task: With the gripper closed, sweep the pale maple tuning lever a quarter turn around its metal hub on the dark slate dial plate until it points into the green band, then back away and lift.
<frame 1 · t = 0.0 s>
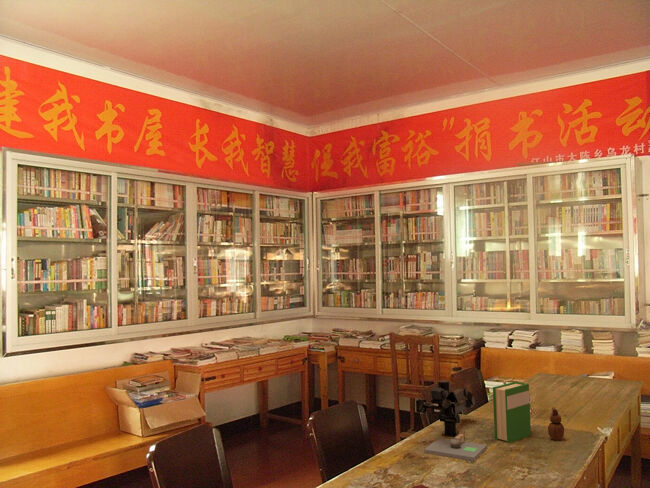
hand: (429, 412, 247), 17 cm above the table, tool horizontal, fingers open, 9 cm apart
tuning lever: (458, 439, 248), point 4 cm above the table, hinge at 0.0°
hardback book: (513, 437, 260), on the table
dial plate: (455, 450, 244), on the table
wooden figurine: (556, 439, 256), on the table
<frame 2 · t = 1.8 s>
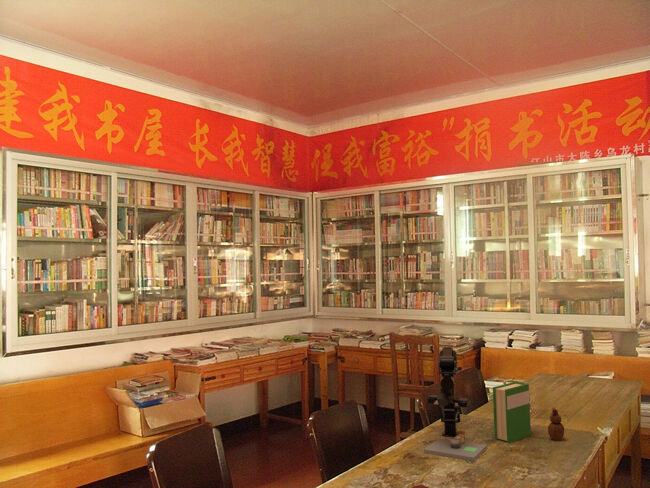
hand: (449, 420, 253), 11 cm above the table, tool pointing down, fingers open, 5 cm apart
nothing on the table moved.
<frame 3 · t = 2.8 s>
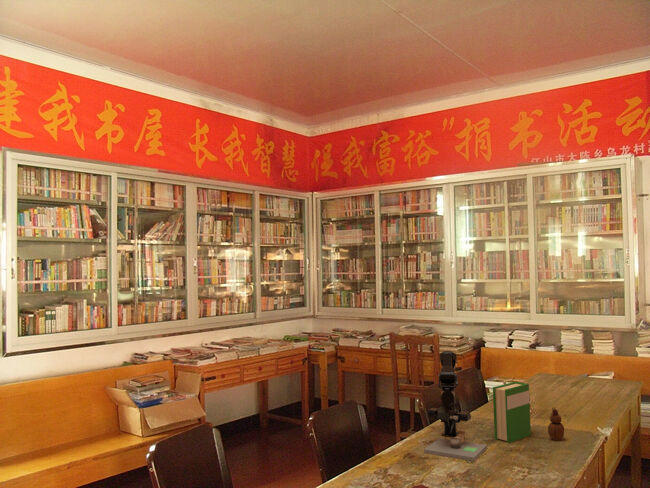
hand: (449, 433, 253), 5 cm above the table, tool pointing down, fingers closed
nothing on the table moved.
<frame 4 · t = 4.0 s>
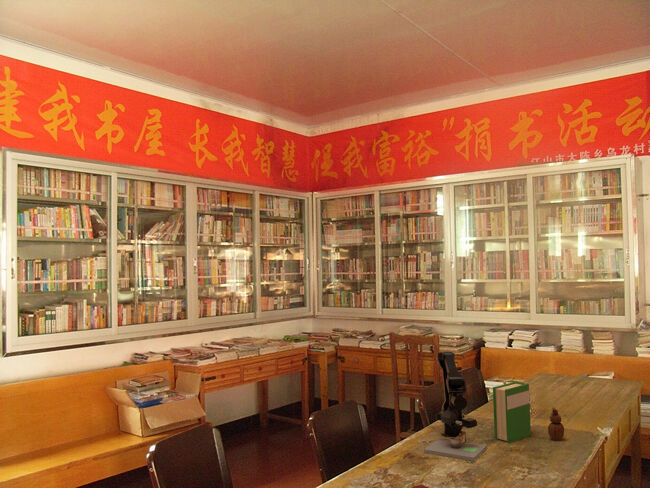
hand: (456, 438, 251), 3 cm above the table, tool pointing down, fingers closed
tuning lever: (458, 439, 247), point 4 cm above the table, hinge at 4.0°, touching gripper
everything else where it was.
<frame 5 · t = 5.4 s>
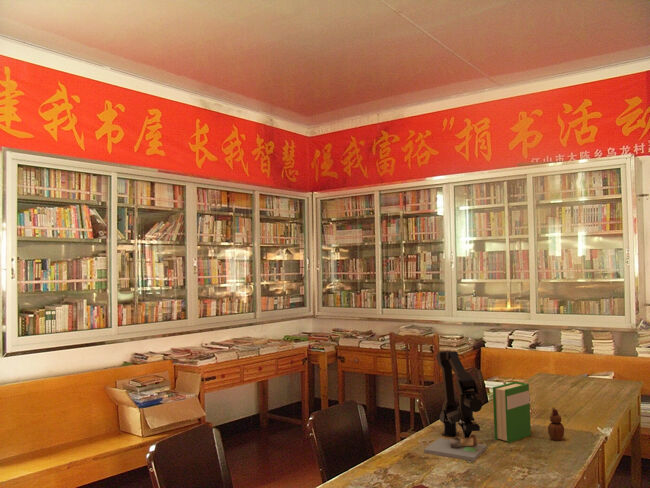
hand: (466, 440, 248), 3 cm above the table, tool pointing down, fingers closed
tuning lever: (463, 440, 245), point 4 cm above the table, hinge at 47.3°, touching gripper
everything else where it was.
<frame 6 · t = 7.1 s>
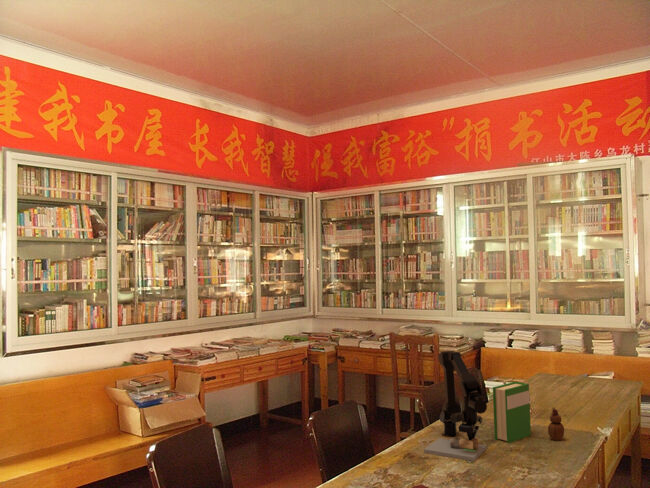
hand: (471, 443, 244), 3 cm above the table, tool pointing down, fingers closed
tuning lever: (464, 442, 243), point 4 cm above the table, hinge at 85.8°
everything else where it was.
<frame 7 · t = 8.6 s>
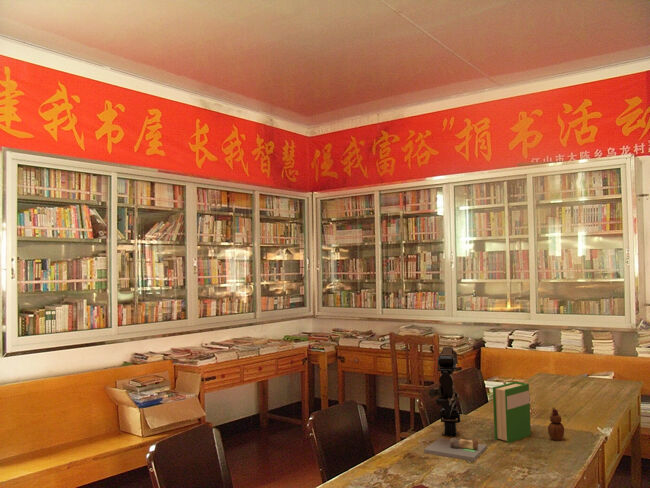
hand: (448, 416, 255), 12 cm above the table, tool pointing down, fingers closed
nothing on the table moved.
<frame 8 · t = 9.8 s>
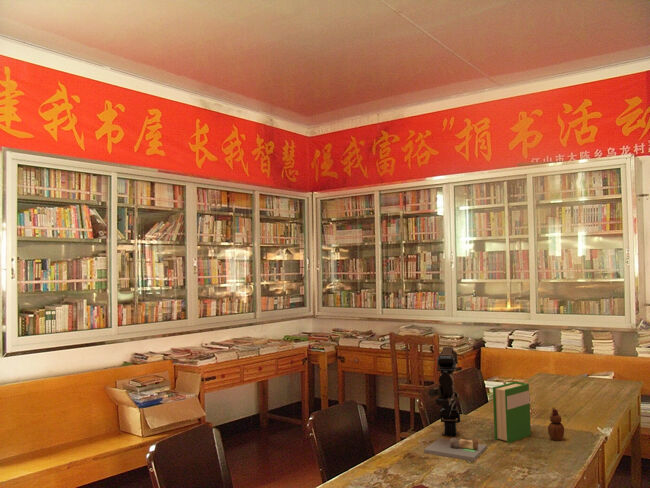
hand: (448, 416, 255), 12 cm above the table, tool pointing down, fingers closed
nothing on the table moved.
at the end: tuning lever at +86° (first picture: +0°) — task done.
